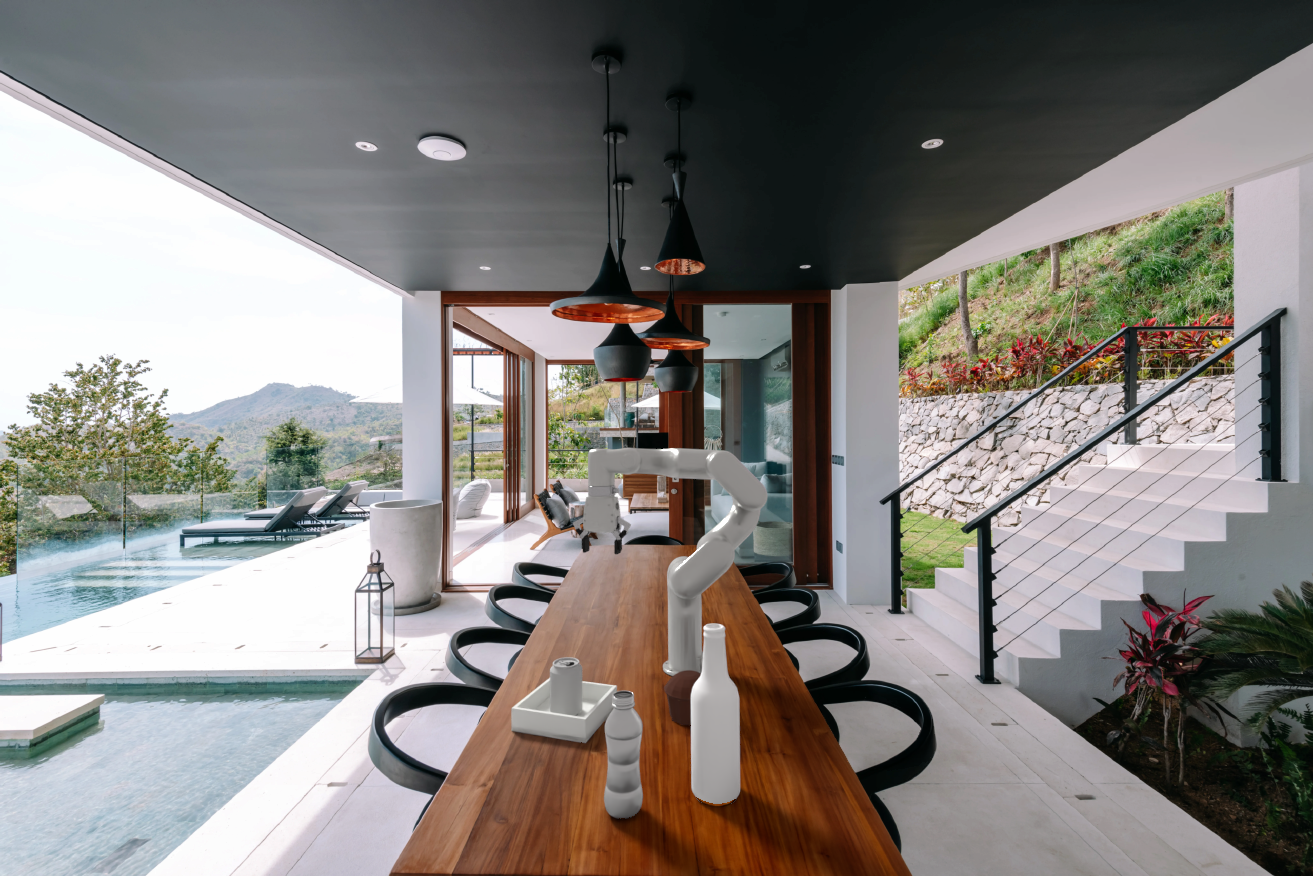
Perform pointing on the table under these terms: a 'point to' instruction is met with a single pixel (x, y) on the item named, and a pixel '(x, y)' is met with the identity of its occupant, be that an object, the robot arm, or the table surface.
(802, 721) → the table surface
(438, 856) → the table surface
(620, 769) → the plastic bottle
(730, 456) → the robot arm
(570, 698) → the can
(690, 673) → the muffin
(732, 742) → the alcohol
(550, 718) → the tote
